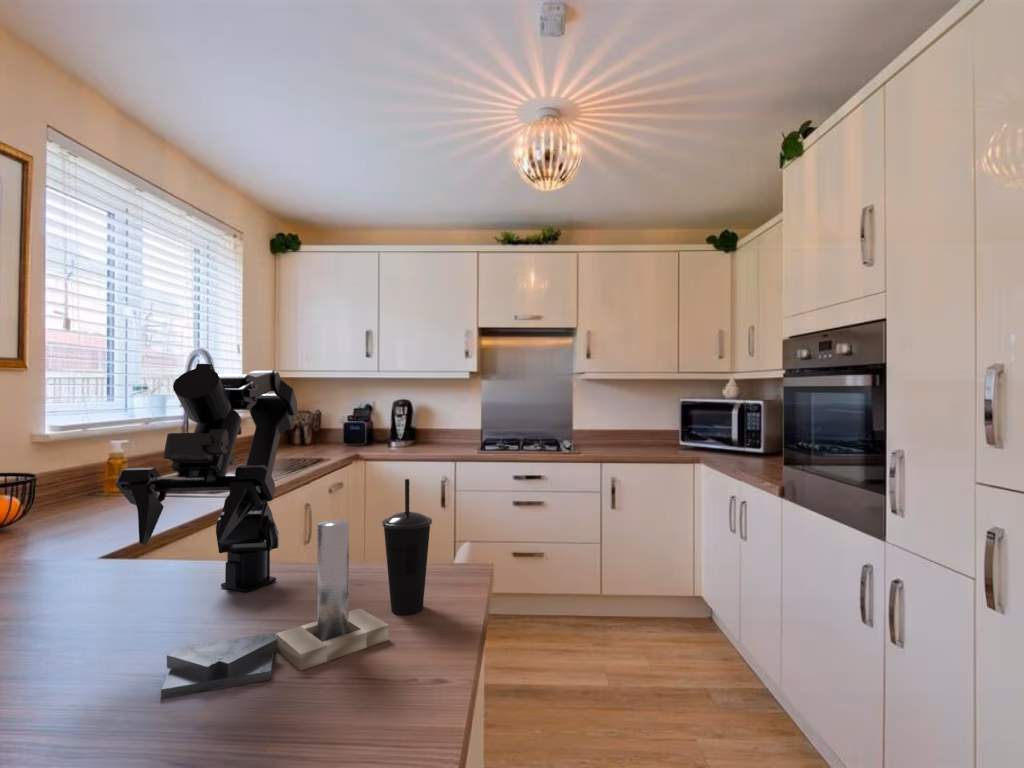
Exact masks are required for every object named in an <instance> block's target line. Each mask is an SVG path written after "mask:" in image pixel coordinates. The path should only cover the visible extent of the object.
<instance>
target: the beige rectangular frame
mask: <svg viewBox="0 0 1024 768" xmlns="http://www.w3.org/2000/svg"><path fill="white" fill-rule="evenodd" d="M389 627H390V625H389V624H388V623H386V622H385V621H383V620H380V619H379V618H377V617H376V616H375V615H372V614H370V613H369V612H367V611H365V610H363V609H361V608H357V609H354V610H349V634H345V635H342V636H339V637H336V638H333V639H330V640H327V641H324V642H322V641H320V640H319V639H318V638H317V620H316V621H313V622H309V623H306V624H303V625H300V626H296V627H293V628H289V629H285V630H282V631H279V632H275V633H276V636H275V638H277V639H278V651H277V652H278V653H279V654H281V655H282V656H283V657H284V658H285V659H286V660H287V661H289V662H290V664H292V665H293V666H294V667H295V668H297V669H298V670H299V671H300V672H301V671H304V670H307V669H310V668H313V667H316V666H319V665H321V664H324V663H328V662H330V661H334V660H335V659H338V658H341V657H345V656H347V655H350V654H353V653H355V652H359V651H362V650H364V649H366V648H367V649H368V648H369V647H372V646H375V645H378V644H380V643H384V642H387V641H389V638H390V637H389V634H390V633H389V631H390V630H389Z"/></svg>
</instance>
